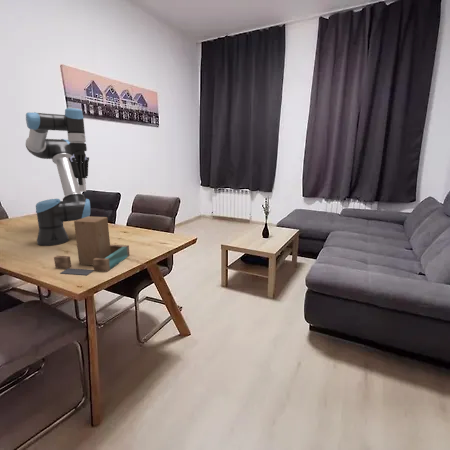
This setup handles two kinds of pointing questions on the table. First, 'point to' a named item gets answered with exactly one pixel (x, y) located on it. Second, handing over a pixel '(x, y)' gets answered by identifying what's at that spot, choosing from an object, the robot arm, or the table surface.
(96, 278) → the table surface
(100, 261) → the brown u-shaped piece
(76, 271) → the mat
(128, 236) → the table surface
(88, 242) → the wooden block
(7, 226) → the table surface
